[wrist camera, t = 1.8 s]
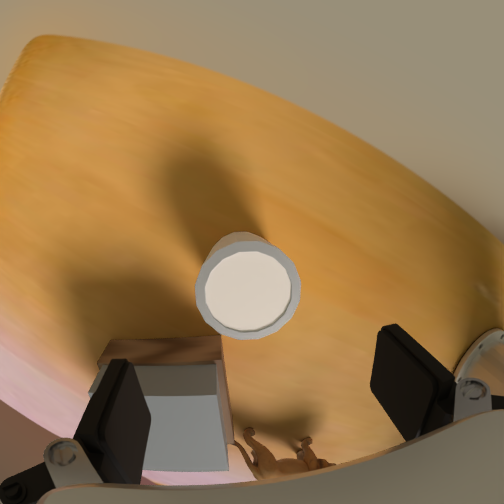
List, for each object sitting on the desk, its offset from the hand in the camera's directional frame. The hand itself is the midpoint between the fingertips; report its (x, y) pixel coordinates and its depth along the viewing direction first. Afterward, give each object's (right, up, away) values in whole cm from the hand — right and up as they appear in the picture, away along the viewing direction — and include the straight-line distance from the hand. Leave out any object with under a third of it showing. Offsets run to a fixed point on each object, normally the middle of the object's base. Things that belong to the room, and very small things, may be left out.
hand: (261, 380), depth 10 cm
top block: (-8, -10, +14) cm, 19 cm away
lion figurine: (+4, -19, +22) cm, 29 cm away
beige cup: (-1, +4, +16) cm, 16 cm away
